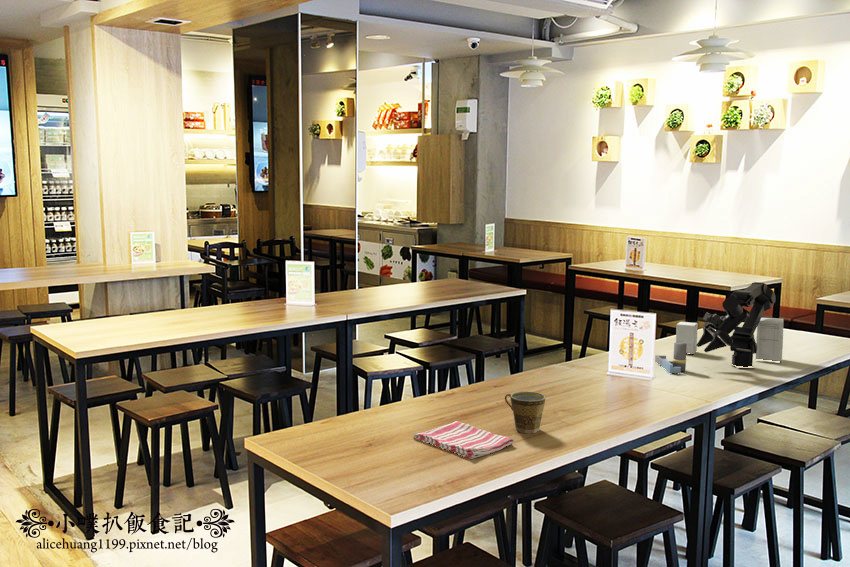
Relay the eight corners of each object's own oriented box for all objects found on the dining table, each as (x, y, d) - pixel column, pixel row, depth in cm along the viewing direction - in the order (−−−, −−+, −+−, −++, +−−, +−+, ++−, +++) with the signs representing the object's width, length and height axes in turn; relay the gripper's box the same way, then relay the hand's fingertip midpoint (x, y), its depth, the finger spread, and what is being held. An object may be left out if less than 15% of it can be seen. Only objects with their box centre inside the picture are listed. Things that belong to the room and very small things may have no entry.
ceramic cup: (551, 429, 220) (552, 395, 218) (531, 437, 212) (532, 403, 211) (514, 420, 228) (515, 387, 227) (494, 427, 221) (495, 394, 219)
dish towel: (471, 463, 195) (471, 450, 194) (411, 440, 212) (411, 428, 211) (515, 447, 206) (515, 435, 205) (455, 427, 223) (455, 415, 223)
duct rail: (665, 361, 304) (665, 353, 303) (680, 374, 284) (680, 364, 284) (655, 361, 304) (655, 352, 304) (669, 373, 284) (670, 364, 284)
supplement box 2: (782, 359, 308) (784, 318, 306) (780, 364, 300) (783, 322, 298) (756, 356, 313) (759, 316, 311) (754, 361, 305) (757, 320, 302)
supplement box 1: (697, 352, 321) (698, 322, 320) (693, 355, 315) (694, 325, 313) (679, 350, 325) (680, 321, 324) (674, 353, 319) (676, 323, 317)
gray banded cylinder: (683, 369, 292) (684, 342, 290) (687, 372, 287) (688, 345, 286) (671, 369, 292) (672, 342, 290) (674, 372, 287) (676, 344, 286)
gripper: (709, 301, 295) (679, 329, 297) (725, 309, 277) (693, 339, 279) (729, 321, 296) (699, 349, 298) (746, 331, 277) (714, 360, 279)
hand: (701, 348), depth 288 cm, fingers open, 9 cm apart
